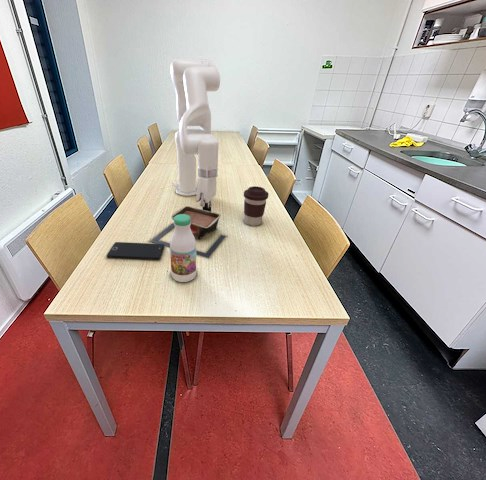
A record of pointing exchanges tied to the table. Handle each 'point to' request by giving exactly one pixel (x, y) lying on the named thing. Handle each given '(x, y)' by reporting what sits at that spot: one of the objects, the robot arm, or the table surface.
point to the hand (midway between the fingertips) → (206, 215)
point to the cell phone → (136, 250)
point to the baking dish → (200, 220)
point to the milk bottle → (183, 250)
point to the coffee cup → (254, 205)
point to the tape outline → (207, 254)
